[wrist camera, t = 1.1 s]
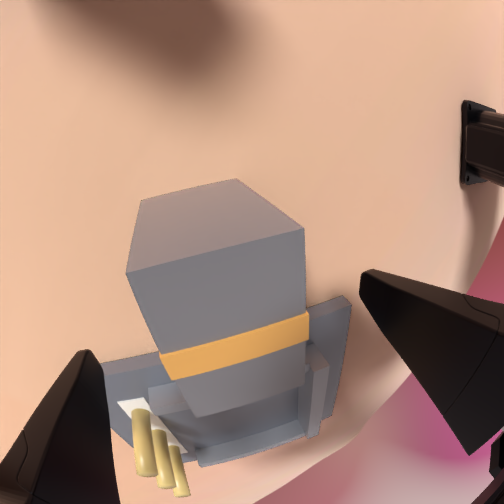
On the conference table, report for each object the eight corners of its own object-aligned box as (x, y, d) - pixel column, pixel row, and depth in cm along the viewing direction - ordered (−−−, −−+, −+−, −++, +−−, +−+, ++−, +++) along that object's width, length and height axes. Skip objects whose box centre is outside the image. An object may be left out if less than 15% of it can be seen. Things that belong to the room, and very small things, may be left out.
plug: (237, 177, 11) (308, 229, 6) (253, 294, 14) (306, 385, 9) (140, 200, 10) (122, 276, 5) (175, 315, 13) (195, 420, 8)
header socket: (342, 295, 16) (399, 353, 12) (326, 408, 23) (354, 450, 18) (70, 368, 13) (59, 448, 8) (155, 458, 19) (164, 508, 14)
